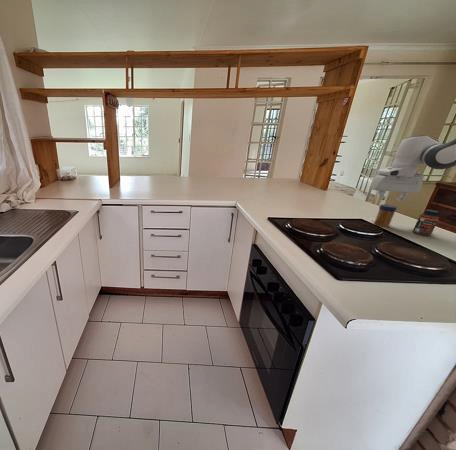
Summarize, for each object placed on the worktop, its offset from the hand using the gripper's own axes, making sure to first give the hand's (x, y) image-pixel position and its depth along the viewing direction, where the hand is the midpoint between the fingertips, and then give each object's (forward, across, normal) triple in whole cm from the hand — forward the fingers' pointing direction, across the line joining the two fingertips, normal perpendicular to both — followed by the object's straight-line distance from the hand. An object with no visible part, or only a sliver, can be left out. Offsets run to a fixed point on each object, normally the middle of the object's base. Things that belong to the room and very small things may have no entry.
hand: (390, 200), depth 115 cm
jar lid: (+3, 0, 0) cm, 3 cm away
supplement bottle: (+13, -10, +10) cm, 19 cm away
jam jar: (+13, 0, 0) cm, 13 cm away
